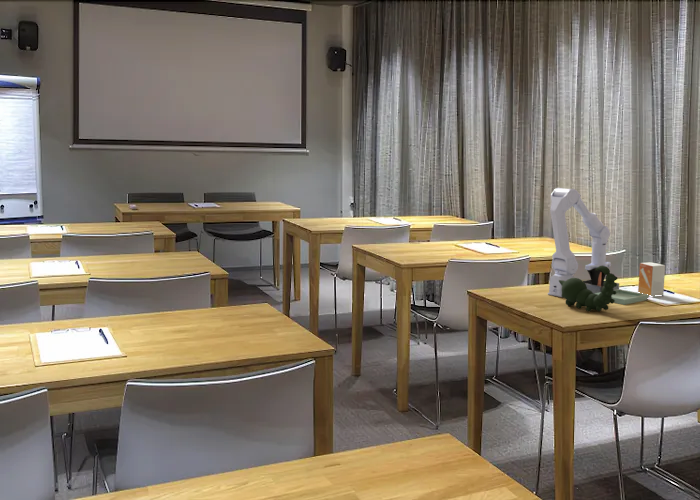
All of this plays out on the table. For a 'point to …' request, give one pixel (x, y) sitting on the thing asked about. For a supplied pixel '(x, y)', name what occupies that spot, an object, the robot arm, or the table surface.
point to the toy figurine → (589, 292)
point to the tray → (627, 297)
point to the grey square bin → (596, 288)
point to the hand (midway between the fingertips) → (597, 285)
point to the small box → (651, 278)
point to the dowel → (599, 279)
